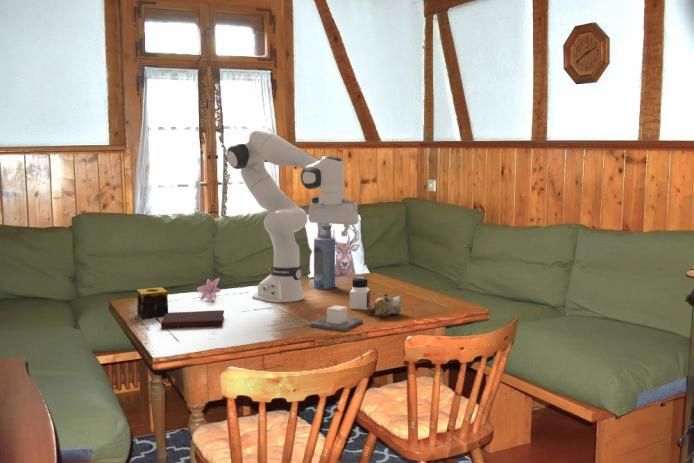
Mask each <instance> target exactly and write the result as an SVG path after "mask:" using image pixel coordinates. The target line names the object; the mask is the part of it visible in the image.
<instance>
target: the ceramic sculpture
mask: <svg viewBox="0 0 694 463" xmlns="http://www.w3.org/2000/svg"><path fill="white" fill-rule="evenodd" d="M402 301H403V299H402V295H401V294H400V295H397V296H395V297H392V296H391V295H389V294H386V293H385V294H383V296H382V297H378V298H376V299H375V300H374V302H373V305H371V306H369V307H368V309H367V310H366V309H362V311H363V312H365V313H367V314H373V316H375V317H378V318H383V317H388V316H389V315H392V314H394V315H400V313H401V311H402Z"/></svg>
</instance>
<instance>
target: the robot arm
mask: <svg viewBox="0 0 694 463" xmlns="http://www.w3.org/2000/svg"><path fill="white" fill-rule="evenodd" d="M226 159H227V162H228V164H229V165H230V167H232V168H233V169H236V170H240V175H241V177H242V179H243V182H244V183H245V185H246V187H247V189H248V190H249V193H251V195H252V196H253V198H254V199H255V201H256V202H257V203H258V205H259V206H260V207H261V208H262V209H265V210H266V211H267V212H268V213H267V214H266V215H265V217H264V219H263V226H264V229H265V231H266V232H267V233H268V234H269V237H270V240H271V243H272V248H273V265H272V266H270V267H268V271H270V274H269V275H268V276H267V277H265V278H264V279H263V280H262V281H260V282H259V284H258V286H257V287H258V288H257V292H256V293H254V294H253V295H252V299H255V300H261V301H266V302H270V303H283V302H284V303H287V302H288V303H290V302H298V301H301V300H303V299H305V296H304V292H303V288H302V280H301V278H302V266H301V258H300V257H301V252H300V251H301V249H300V245H298V244H297V241H296V239H295V238H296V237H295V233H296V232H299V231H301V230H302V229H303V228H305V226H306V225H307V224H308V220H309V222H310V223H315V224H316V226H317V229H318V228H319V230H320V235H325V234H326V233H325V232H326V230H324V229H323V227H322V225H323V223H329V224H330V225H333V224H335V225H343V227H344V229H343V231H341V232H340V233H341V234H340V235H341V237H347V236H348V231H349V229H350V227H351V225H352V226H355V225H357V224H358V223H359V214H358V213H359V212H358V209H359V208H358V207H359V206H358V203H357V201H355V200H354V199H345V198H346V197H345V195H346V192H345V191H346V190H345V185H344V184H345V178H346V177H345V172H346V171H345V165H344V161H343V159H342V158H341V157H339V156H333V155H324V156H322V158H318V157H316V156H314V155H312V154H310V153H309V152H307V151H305V150H303V149H301V148H299V147H298V146H295V145H293V144H292V143H291V142H289V141H288V140H286V139H284V138H282V137H281V136H279V135H278V134H276V133H274V132H273V131H270V130H268V129H265V128H262V127H260V128H259V127H257V128H255V129H254V130H253V131H251V133H249V136H248V137H247V138H244V139H243V140H241V141H239V142H237V143H234V144H232V145H231V146H229V147H228V148H227V150H226ZM265 163H270V164H272V165H275V166H280V167H282V166H283V167H297V168H301V169H302V170H301V173H300V182H301V184H302V185H303V187H304V188H305V189H307V190H312V191H313V190H320V191H321V193H320V194H318V195H317V196H313V197H310V198H309V203H310V205H309V207H308V213H307V212H306V210H304V209H303V208H302V207H300V206H299V205H297V204H296V203H295V202H294V201H292V200H291V199H290V198H289V197H288V196H287V195H286V194H285V193H284V192H283V191H282V189H281V188H280V187H279V186H278V184H277V183H276V181H275V180H274V179H273V177H272V176H271V173H269V172H268V170H267V169H266V167H265ZM307 214H308V215H307Z"/></svg>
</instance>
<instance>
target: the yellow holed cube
mask: <svg viewBox="0 0 694 463" xmlns="http://www.w3.org/2000/svg"><path fill="white" fill-rule="evenodd" d="M136 294H137V296H136V297H137V304H136V306H137V309H136V310H137V311H136V312H137V315H138V317H140V318H141V320H150V319H159V318H164V316H165V314H166V313H169V302H168V301H169V299H168V298H169V297H168V290H166V289H165V288H163V287H160V286H159V287H149V288H141V289H140V288H139V289H136Z"/></svg>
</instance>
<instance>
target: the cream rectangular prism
mask: <svg viewBox="0 0 694 463" xmlns="http://www.w3.org/2000/svg"><path fill="white" fill-rule="evenodd" d="M326 317H327V322H329V323H336V324H341V323H343V322H345V321H347V318H348V306H344V305H343V306H342V305H337V304H336V305H331V306H329V307H327V308H326Z"/></svg>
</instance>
